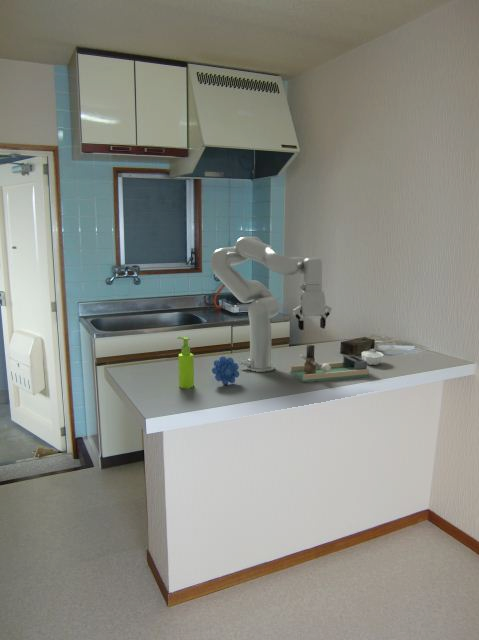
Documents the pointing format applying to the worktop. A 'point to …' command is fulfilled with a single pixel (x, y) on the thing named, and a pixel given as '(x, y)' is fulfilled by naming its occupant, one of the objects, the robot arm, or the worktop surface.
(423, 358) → the worktop surface
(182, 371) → the soap dispenser
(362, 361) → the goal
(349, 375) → the pitch
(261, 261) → the robot arm
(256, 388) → the worktop surface
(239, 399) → the worktop surface
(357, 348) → the beverage carton
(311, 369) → the kicker
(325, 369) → the ball
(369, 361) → the cell model
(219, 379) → the blue knobbed wheel
